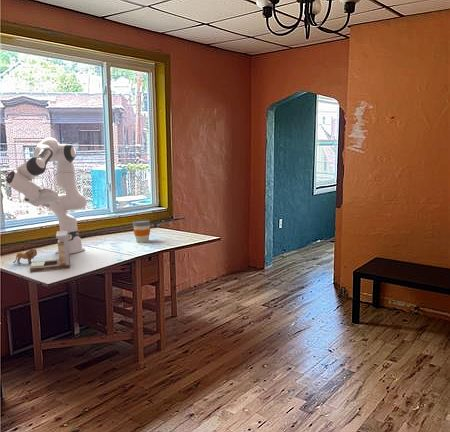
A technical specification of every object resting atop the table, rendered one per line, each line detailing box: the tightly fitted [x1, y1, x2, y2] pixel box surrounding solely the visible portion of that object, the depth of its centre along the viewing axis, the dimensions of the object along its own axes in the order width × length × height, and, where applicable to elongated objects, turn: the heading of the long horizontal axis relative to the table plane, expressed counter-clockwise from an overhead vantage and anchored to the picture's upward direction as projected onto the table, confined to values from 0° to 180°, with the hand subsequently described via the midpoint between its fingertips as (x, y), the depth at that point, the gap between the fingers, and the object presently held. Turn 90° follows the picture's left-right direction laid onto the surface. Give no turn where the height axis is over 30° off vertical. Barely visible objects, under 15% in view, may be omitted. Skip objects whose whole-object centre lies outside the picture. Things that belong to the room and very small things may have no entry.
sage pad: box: [30, 261, 45, 268], centre depth 262 cm, size 9×7×1 cm
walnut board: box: [29, 258, 71, 273], centre depth 265 cm, size 16×21×2 cm
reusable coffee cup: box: [132, 219, 151, 244], centre depth 328 cm, size 13×13×15 cm
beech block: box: [57, 241, 65, 263], centre depth 266 cm, size 5×5×12 cm
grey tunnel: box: [55, 230, 71, 265], centre depth 265 cm, size 16×6×18 cm, turn 18°
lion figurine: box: [13, 248, 38, 265], centre depth 273 cm, size 15×5×9 cm, turn 93°
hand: (54, 204), depth 261 cm, fingers open, 8 cm apart
